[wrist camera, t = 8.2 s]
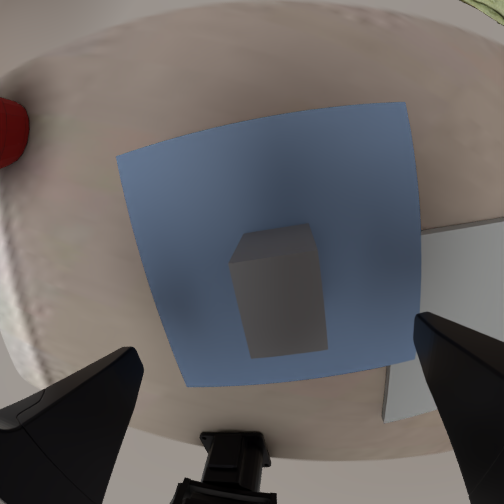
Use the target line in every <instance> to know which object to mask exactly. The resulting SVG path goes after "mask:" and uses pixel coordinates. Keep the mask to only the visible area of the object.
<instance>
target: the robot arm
mask: <svg viewBox="0 0 504 504" xmlns="http://www.w3.org/2000/svg"><path fill="white" fill-rule="evenodd" d="M413 342H414V346H415V349H416V352H417V355H418V358H419V361H420V364H421V367H422V370H423V374H424V377H425V380H426V383H427V385H428V388H429V390H430V392H431V395H432V397H433V399H434V402H435V404H436V406H437V409H438V411H439V414H440V416H441V418H442V421H443V423H444V426H445V429H446V431H447V434H448V436H449V439H450V442H451V444H452V447H453V450H454V452H455V455H456V458H457V461H458V464H459V467H460V470H461V473H462V476H463V479H464V482H465V486H466V488H467V492H468V494H469V500H470V503H471V504H504V342H503V341H500V340H498V339H495V338H493V337H490V336H488V335H486V334H483V333H481V332H478V331H476V330H473V329H471V328H468V327H466V326H463V325H461V324H458V323H456V322H453V321H451V320H448V319H446V318H443V317H441V316H438V315H436V314H433V313H431V312H428V311H426V312H422V313H418V314H416V315H415V319H414V331H413ZM143 373H144V368H143V364H142V362H141V360H140V358H139V355H138V353H137V351H136V349H135V348H134V347H122V348H120V349H118V350H116V351H114V352H112V353H111V354H109V355H107V356H105V357H103V358H101V359H100V360H98V361H96V362H94V363H92V364H90V365H88V366H87V367H85V368H83V369H81V370H79V371H77V372H75V373H73V374H72V375H70V376H68V377H66V378H64V379H62V380H60V381H58V382H56V383H54V384H53V385H51V386H49V387H47V388H46V389H43V390H41V391H39V392H37V393H35V394H33V395H31V396H29V397H27V398H25V399H23V400H21V401H18V402H16V403H14V404H12V405H9V406H7V407H5V408H3V409H0V504H102V502H103V499H104V495H105V492H106V489H107V486H108V483H109V480H110V476H111V473H112V471H113V468H114V464H115V461H116V459H117V455H118V453H119V450H120V447H121V444H122V441H123V439H124V436H125V433H126V430H127V427H128V425H129V422H130V419H131V416H132V414H133V411H134V408H135V404H136V400H137V396H138V392H139V388H140V385H141V381H142V377H143ZM200 440H201V441H202V443H203V445H204V447H205V449H206V451H207V453H208V457H207V461H206V464H205V468H204V471H203V475H202V479H201V482H198V481H194V480H191V479H189V478H185V479H184V481H183V483H178V486H177V489H176V492H175V495H174V497H173V499H172V501H171V502H170V504H277V494H276V493H262V492H259V491H260V483H261V474H262V467H270V466H271V460H270V457H269V454H268V450H267V447H266V444H265V441H264V437H263V435H262V434H261V433H258V432H255V433H201V434H200Z"/></svg>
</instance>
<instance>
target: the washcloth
mask: <svg viewBox="0 0 504 504" xmlns="http://www.w3.org/2000/svg"><path fill="white" fill-rule="evenodd" d="M459 1H462V2H463V3H466V4H468V5H470V6H472V7H474V8H476V9H478V10H480V11H481V12H483V13H484V14H486V15H487V16H489V17H491V18H492V19H494V20H495V21H497V22H498V23H499V24H501V25H503V26H504V0H459Z"/></svg>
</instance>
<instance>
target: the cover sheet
mask: <svg viewBox="0 0 504 504" xmlns="http://www.w3.org/2000/svg"><path fill="white" fill-rule="evenodd" d="M116 159H117V164H118V169H119V174H120V178H121V183H122V187H123V192H124V196H125V200H126V204H127V208H128V212H129V216H130V220H131V224H132V228H133V232H134V235H135V239H136V243H137V246H138V250H139V253H140V257H141V260H142V263H143V267H144V270H145V273H146V276H147V280H148V283H149V286H150V289H151V292H152V295H153V298H154V301H155V304H156V307H157V310H158V313H159V316H160V319H161V321H162V324H163V327H164V330H165V332H166V335H167V338H168V340H169V343H170V346H171V348H172V351H173V354H174V356H175V359H176V361H177V364H178V366H179V369H180V371H181V374H182V376H183V378H184V381H185V383H186V386H187V387H220V386H241V385H256V384H269V383H280V382H289V381H298V380H306V379H314V378H321V377H328V376H335V375H341V374H347V373H353V372H358V371H364V370H369V369H374V368H379V367H384V366H389V365H393V364H398V363H402V362H406V361H410V360H414V359H415V356H416V349H415V346H414V342H413V331H414V319H415V315H416V314H418V313H420V298H421V221H420V205H419V192H418V181H417V172H416V164H415V156H414V149H413V142H412V136H411V130H410V124H409V119H408V114H407V109H406V104H405V102H391V103H373V104H359V105H348V106H338V107H329V108H321V109H313V110H306V111H299V112H292V113H286V114H280V115H274V116H268V117H263V118H257V119H252V120H247V121H242V122H238V123H233V124H228V125H224V126H220V127H215V128H211V129H207V130H203V131H199V132H195V133H191V134H187V135H184V136H180V137H176V138H173V139H169V140H166V141H163V142H159V143H156V144H153V145H149V146H146V147H143V148H140V149H137V150H134V151H131V152H128V153H125V154H122V155H119V156H116Z"/></svg>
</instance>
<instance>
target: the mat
mask: <svg viewBox="0 0 504 504" xmlns="http://www.w3.org/2000/svg"><path fill="white" fill-rule="evenodd" d="M426 311H428V312H431V313H433V314H436V315H438V316H441V317H443V318H446V319H448V320H451V321H453V322H456V323H458V324H461V325H463V326H466V327H468V328H471V329H473V330H476V331H478V332H481V333H483V334H486V335H488V336H490V337H493V338H495V339H498V340H500V341H503V342H504V217H502V218H496V219H490V220H484V221H478V222H472V223H466V224H459V225H453V226H447V227H441V228H434V229H428V230H422V231H421V298H420V313H422V312H426ZM433 410H437V406H436V404H435V402H434V399H433V397H432V395H431V392H430V390H429V388H428V385H427V383H426V380H425V377H424V374H423V370H422V367H421V364H420V361H419V358H418V355H417V352H416V356H415V359H414V360H410V361H406V362H402V363H398V364H393V365H389V366H387V372H386V384H385V394H384V403H383V411H382V419H383V423H389V422H393V421H397V420H401V419H405V418H409V417H413V416H416V415H420V414H423V413H427V412H430V411H433Z"/></svg>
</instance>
